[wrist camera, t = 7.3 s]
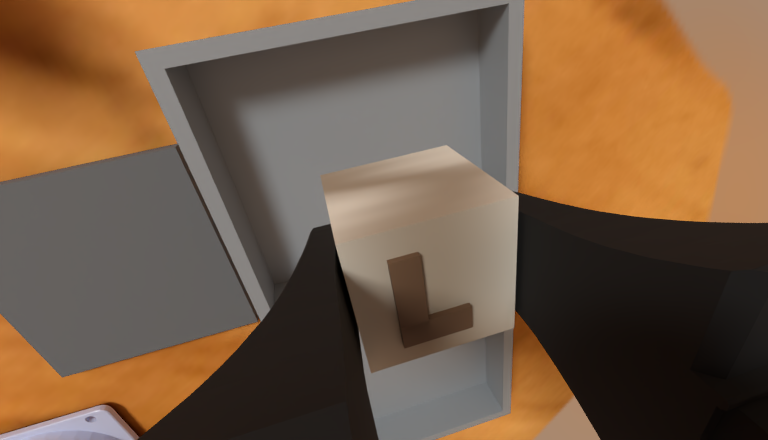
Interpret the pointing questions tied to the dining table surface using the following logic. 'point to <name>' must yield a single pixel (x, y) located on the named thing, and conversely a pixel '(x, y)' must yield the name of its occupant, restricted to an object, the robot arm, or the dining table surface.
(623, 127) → the dining table surface
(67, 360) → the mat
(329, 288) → the robot arm
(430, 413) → the tray
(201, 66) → the tray
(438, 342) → the letter cube
